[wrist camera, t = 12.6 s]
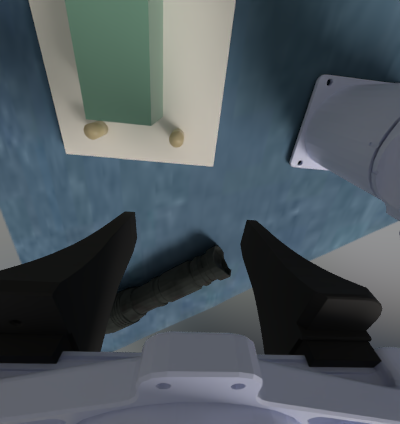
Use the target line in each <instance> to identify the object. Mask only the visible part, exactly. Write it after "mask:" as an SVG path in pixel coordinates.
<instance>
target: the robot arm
mask: <svg viewBox="0 0 400 424" xmlns="http://www.w3.org/2000/svg"><path fill="white" fill-rule="evenodd" d="M329 79H330V84H329V85H328V86H327V81H328V80H329ZM299 161H301V163H300V164H298V162H299ZM289 164H290V165H291V166H292V167H298V168H309V169H320V170H329V171H331V172H333V173H335V174H336V175H338V176H340V177H342V178H343V179H345V180H347V181H349V182H350V183H352V184H354V185H356V186H357V187H359V188H361V189H363V190H364V191H366V192H368V193H370V194H371V195H373V196H375V197H377V198H379V199H380V200H382V201H383V202H384V203H385V205H386V213H387V214H389V215H390V216H392V217H394V218H395V219H397V220H398V221H400V83H388V82H380V81H373V80H365V79H357V78H350V77H342V76H334V75H321V76H320V77H319V78H318V79H317V81H316V84H315V87H314V90H313V93H312V96H311V99H310V102H309V105H308V108H307V111H306V114H305V117H304V120H303V122H302V125H301V128H300V131H299V134H298V137H297V140H296V143H295V146H294V149H293V152H292V155H291V158H290V161H289ZM136 240H137V232H136V219H135V212H124V213H122V214H121V215H119V216H118V217H117V218H115V219H114V220H112V221H111V222H110V223H108V224H107V225H105V226H104V227H102V228H101V229H99V230H98V231H96V232H95V233H93V234H91V235H90V236H88V237H86V238H85V239H83V240H81V241H79V242H77V243H75V244H73V245H71V246H69V247H67V248H64V249H62V250H60V251H57V252H55V253H53V254H50V255H48V256H45V257H42V258H40V259H37V260H34V261H31V262H28V263H25V264H21V265H18V266H14V267H11V268H8V269H4V270H1V271H0V424H400V347H379V348H375V349H373V348H372V346H371V345H370V343H369V342H368V341H371V337H370V336H369V334H368V333H367V331H366V330H367V329H368V328H369V327H370V326H371V325H372V324H373V323H374V322H375V321H376V320H377V319H378V317H379V316H380V315H381V311H382V306H381V304H380V303H379V301H378V300H377V299H376V298H375V297H374V296H373V295H372V293H371V292H370V291H369V290H368V289H367V288H366V287H363V286H360V285H358V284H356V283H353V282H351V281H348V280H345V279H343V278H341V277H339V276H337V275H335V274H332V273H330V272H328V271H326V270H324V269H322V268H320V267H319V266H317V265H315V264H313V263H311V262H310V261H308V260H306V259H305V258H303V257H302V256H300V255H299V254H297V253H295V252H294V251H293V250H291V249H290V248H289V247H287V246H286V245H285V244H283V243H282V242H281V241H279V240H278V239H277V238H276V237H275V236H273V235H272V234H271V233H270V232H269V231H268V230H267V229H265V228H264V227H263V226H262V225H261V224H260V223H258V222H257V221H255V220H247V221H246V225H245V229H244V233H243V236H242V240H241V251H242V256H243V260H244V263H245V266H246V269H247V272H248V275H249V278H250V282H251V285H252V288H253V291H254V295H255V300H256V305H257V310H258V315H259V321H260V326H261V333H262V339H263V345H264V353H265V355H257V354H256V351H255V346H254V342H253V341H251V340H250V339H248V338H247V337H246V336H244V335H240V334H235V333H211V332H209V333H208V332H173V331H171V332H163V333H157V334H155V335H154V336H151V337H150V338H148V339H147V340H146V342H145V344H144V346H143V349H142V353H135V352H133V353H132V352H101V348H102V343H103V339H104V336H105V332H106V328H107V324H108V320H109V317H110V313H111V310H112V306H113V303H114V300H115V297H116V293H117V290H118V287H119V284H120V282H121V279H122V277H123V275H124V272H125V270H126V268H127V265H128V263H129V261H130V258H131V256H132V254H133V251H134V248H135V244H136Z"/></svg>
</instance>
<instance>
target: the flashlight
mask: <svg viewBox="0 0 400 424" xmlns="http://www.w3.org/2000/svg"><path fill="white" fill-rule="evenodd" d="M223 255H224V252H223V251H222V249H221V248H220V247H218V246H214V247H212V248H210V249H208V250H207V251H206V254H204V255H202V256H197V257H195V258H194V259H193V260H192V261H187V262H185V263H183V264H181V265H179V266H177V267H175V268H173V269H171V270H169V271H167V272H165V273H163V274H162V275H161V276H160V277H155V278H153V279H152V280H151V281H150V282H149V283H147V284H145V285H143V286H141V287H135V288H128V289H125V290H123V291H121V292H119V293H117V294H116V297H115V300H114V303H113V306H112V310H111V313H110V317H109V320H108V324H107V328H106V332H105V334H109V333H114V332H116V331H118V330H121V329H123V328H125V327H127V326H130V325H131V324H134V323H136V322H138V321H139V320H140V318H142V317H143V316H144V315H146V313H147V312H148V311H150V310H152V309H154V308H156V307H160V306H164V305H167V304H168V302H173V301H175V300H178V299H180V298H182V297H184V296H186V295H188V294H191V293H193V292H195V291H197V290H199V289H201V288H202V286H203V285H204V286H207V285H209V284H211V282H212V281H214V280H217V279H218V280H223V279H225V278H228V277H230V275H231V269H229V268H228V266H227V264H226V262H225V259H224V256H223Z"/></svg>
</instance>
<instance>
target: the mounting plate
mask: <svg viewBox="0 0 400 424" xmlns="http://www.w3.org/2000/svg"><path fill="white" fill-rule="evenodd" d="M235 3H236V0H163V117H162V118H161V119H160V120H158V121H157V122H156V123H154V124H153V125H152V126H146V125H136V124H127V123H117V122H107V121H97V120H87V119H86V117H85V111H84V106H83V100H82V95H81V89H80V83H79V78H78V72H77V67H76V61H75V55H74V50H73V44H72V39H71V33H70V28H69V22H68V16H67V11H66V5H65V0H29V4H30V8H31V12H32V17H33V21H34V25H35V29H36V33H37V37H38V41H39V45H40V49H41V53H42V57H43V61H44V65H45V69H46V73H47V77H48V82H49V86H50V90H51V94H52V98H53V102H54V106H55V110H56V114H57V118H58V122H59V126H60V130H61V134H62V138H63V142H64V147H65V151H66V154H76V155H87V156H98V157H110V158H121V159H132V160H143V161H155V162H166V163H177V164H189V165H200V166H211V167H213V163H214V156H215V149H216V142H217V134H218V127H219V120H220V112H221V105H222V98H223V90H224V83H225V76H226V68H227V61H228V54H229V46H230V39H231V32H232V25H233V17H234V10H235Z"/></svg>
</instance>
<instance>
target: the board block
mask: <svg viewBox="0 0 400 424" xmlns="http://www.w3.org/2000/svg"><path fill="white" fill-rule="evenodd" d="M65 5H66V11H67V16H68V22H69V28H70V33H71V39H72V44H73V50H74V55H75V61H76V67H77V72H78V78H79V83H80V89H81V95H82V100H83V106H84V111H85V117H86V119H87V120H97V121H107V122H117V123H127V124H136V125H146V126H152V125H153V124H154V123H156V122H157V121H158V120H160V119H161V118H162V117H163V0H65Z"/></svg>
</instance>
